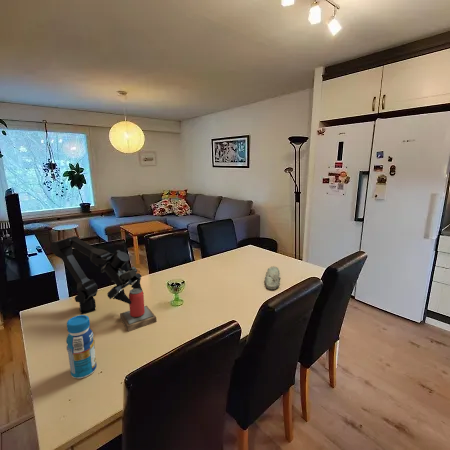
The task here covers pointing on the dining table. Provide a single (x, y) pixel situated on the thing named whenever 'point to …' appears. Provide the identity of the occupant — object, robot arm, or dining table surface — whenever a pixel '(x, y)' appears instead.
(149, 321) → the walnut stand
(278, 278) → the long grey stone
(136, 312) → the beer can
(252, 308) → the dining table surface
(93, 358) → the beverage bottle
